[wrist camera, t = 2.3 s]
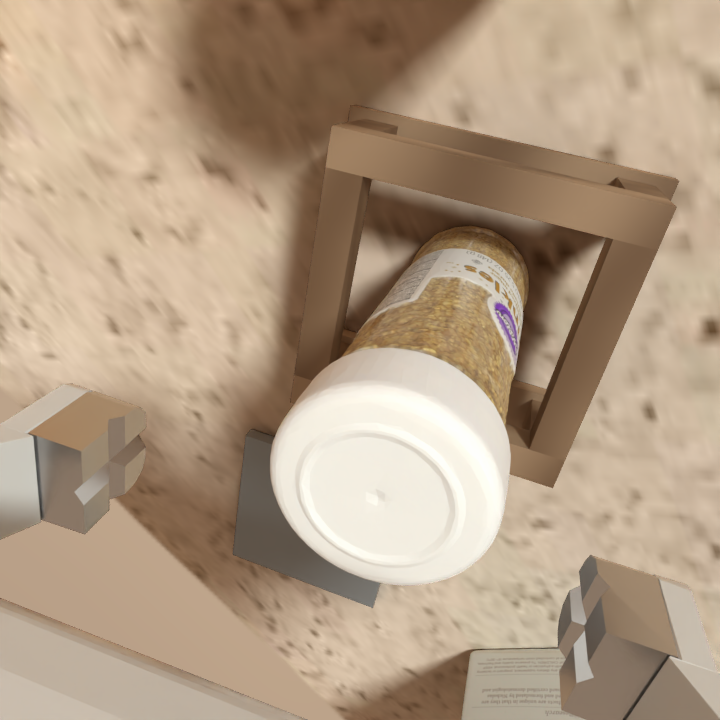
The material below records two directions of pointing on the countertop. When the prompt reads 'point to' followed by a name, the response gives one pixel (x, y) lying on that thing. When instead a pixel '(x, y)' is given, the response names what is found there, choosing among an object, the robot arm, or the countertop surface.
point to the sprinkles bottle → (412, 420)
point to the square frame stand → (508, 194)
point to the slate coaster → (283, 532)
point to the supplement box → (514, 685)
